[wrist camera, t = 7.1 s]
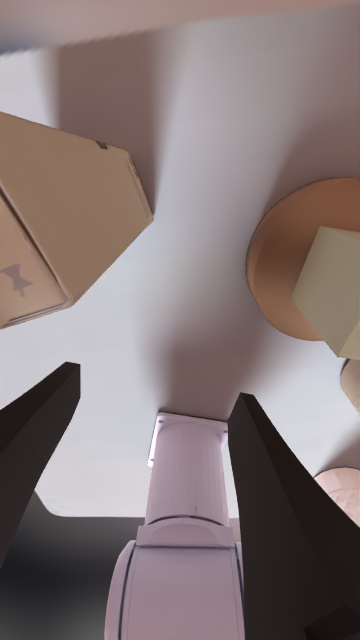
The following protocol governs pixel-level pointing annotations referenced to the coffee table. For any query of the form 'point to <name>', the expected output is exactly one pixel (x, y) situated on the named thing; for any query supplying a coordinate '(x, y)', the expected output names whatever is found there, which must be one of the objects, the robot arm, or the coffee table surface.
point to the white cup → (343, 489)
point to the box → (60, 216)
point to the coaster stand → (296, 247)
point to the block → (332, 290)
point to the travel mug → (352, 382)
